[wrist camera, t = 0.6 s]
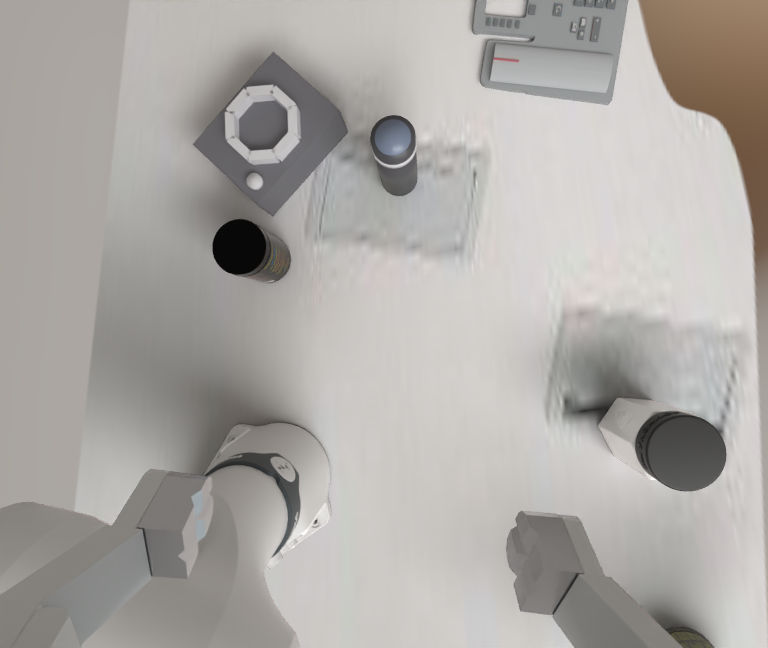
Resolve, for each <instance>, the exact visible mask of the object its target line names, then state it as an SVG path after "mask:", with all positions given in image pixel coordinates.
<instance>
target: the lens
mask: <svg viewBox="0 0 768 648" xmlns="http://www.w3.org/2000/svg"><path fill="white" fill-rule="evenodd" d="M370 140H371V148H372V152H373V155H374V157H375V160H376V163H377V167H378V170H379V173H380V177H381V180H382V184H383V186H384V188H385V190H386V191H387V192H389V193H390V194H392V195H395V196H403V195H406V194H408V193H410V192H411V191H412V190H413V189H414V187H415V186H416V183H417V158H416V149H417V140H416V135H415V130H414V128H413V126H412V124H411V123H410V122H409V121H408V120H407V119H405V118H403V117H401V116H396V115H391V116H387V117H384V118H382V119H381V120H379V121H378V122H377V123H376V124H375V126H374V127H373V129H372V132H371V137H370Z"/></svg>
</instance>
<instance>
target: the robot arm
mask: <svg viewBox="0 0 768 648" xmlns="http://www.w3.org/2000/svg"><path fill="white" fill-rule="evenodd" d="M233 438H235V439H234V440H233ZM329 485H330V466H329V462H328V458H327V456H326V453H325V451H324V449H323V448H322V446H321V445H320V443H319V442H318V441H317V440H316V439H315V438H314V437H313V436H312V435H311V434H310V433H308V432H307V431H305V430H304V429H302V428H300V427H298V426H295V425H292V424H287V423H272V424H267V425H263V426H252V425H246V424H238V425H236V426H234V427H233V428H232V429H231V431H230V432H229V434H228V435H227V437H226V439H225V440H224V442H223V444H222V445H221V447H220V449H219V450H218V452H217V454H216V455H215V457H214V459H213V460H212V462H211V463H210V465H209V467H208V468H207V470H206V472H205V473H204V475H203V476H201V475H194V474H187V473H179V472H172V471H164V470H156V469H150V470H148V471H147V472H146V473H145V474H144V476H143V477H142V479H141V480H140V482H139V484H138V485H137V487H136V488H135V490H134V492H133V493H132V495H131V496H130V498H129V500H128V501H127V503H126V504H125V506H124V508H123V509H122V511H121V512H120V514H119V516H118V517H117V519H116V520H115V522H114V524H113V525H110V524H108V523H106V522H103V521H101V520H99V519H97V518H95V517H93V516H90V515H86V514H82V513H78V512H74V511H71V510H66V509H63V508H58V507H53V506H48V505H43V504H38V503H34V502H22V503H16V504H13V505H10V506H7V507H4V508H1V509H0V648H300V645H299V641H298V638H297V634H296V632H295V631H294V630H293V628H292V627H291V626H290V625H289V624H288V622H287V621H286V620H285V618H284V617H283V616H282V614H281V613H280V611H279V610H278V608H277V606H276V605H275V603H274V601H273V599H272V597H271V595H270V592H269V589H268V587H267V583H266V580H265V574H264V571H265V569H266V567H267V568H269V569H271V568H272V567H274V566H275V565H276V564H277V563H278V562H279V561H280V560H281V559H282V557H283V556H282V554H284V553H285V552H287V551H288V550H291V549H292V548H294V547H295V546H296V545H297V544H298V543H299V542H301V541H302V540H304V539H305V538H307V537H308V536H309V535H311V534H312V533H314V532H315V531H317V530H318V529H320V528H321V527H322V526H324V525H325V524H326V523H327V522H328V521H329V520H330V518H331V508H330V503H329V499H328V491H329ZM316 519H317V520H318V522H314V521H315V520H316ZM516 523H517V526H516V527H515V528H513V529H511V530H510V533H509V535H508V538H507V547H506V551H507V559H508V563H509V567H510V569H511V570H512V571H513V572H514V573H515V574H516V575H517V578H516V580H515V583H514V588H515V592H516V596H517V600H518V604H519V608H520V611H523V612H531V613H539V614H547V615H553V619H554V620H555V621H556V623H557V624H558V626H559V627H560V628H561V630H562V631H563V632H564V634H565V635H566V637H567V638H568V639H569V641H570V642H571V643H572V645H573V646H574V648H683V647H682V646H681V645H680V644H679V643H678V642H677V641H676V640H675V639H674V638H673V637H672V636H671V635H670V634H669V633H668V632H666V631H665V630H664V629H663V628H662V627H661V626H660V625H659V624H658V623H657V622H656V621H655V620H654V619H653V618H652V617H651V616H650V615H649V614H648V613H647V612H646V611H645V610H644V609H643V608H642V607H641V606H640V605H639V604H638V603H637V602H636V601H635V600H634V599H633V598H632V597H631V596H630V595H629V594H627V593H626V592H625V591H624V590H623V589H622V588H621V587H620V586H619V585H618V584H617V583H616V582H615V581H614V580H613V579H612V578H611V577H605V575H604V572H603V570H602V568H601V566H600V563H599V561H598V559H597V557H596V554H595V552H594V550H593V548H592V545H591V543H590V541H589V539H588V536H587V534H586V532H585V529H584V527H583V525H582V523H581V521H580V519H579V518H578V517H575V516H566V515H557V514H551V513H541V512H530V511H521V512H519V513H518V515H517V517H516Z"/></svg>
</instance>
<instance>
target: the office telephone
mask: <svg viewBox="0 0 768 648" xmlns="http://www.w3.org/2000/svg"><path fill="white" fill-rule="evenodd" d="M627 5H628V0H528V4H527V10H526V16H525V18H517V17H504V16H495V15H485V8H486V0H477V1H476V7H475V13H474V22H473V34H475V35H478V34H486V35H498V36H509V37H519V38H529V39H534V40H533V41H532V42H529V43H525V42H512V41H499V40H489V41H488V42H487V45H486V50H485V55H484V60H483V67H482V73H481V79H480V83H481V85H482V86H484V87H486V88H492V89H497V90H503V91H510V92H519V93H525V94H529V95H535V96H543V97H551V98H558V99H566V100H574V101H582V102H590V103H597V104H603V105H609V103H610V102H611V101H612V96H613V90H614V84H615V79H616V73H617V66H618V60H619V54H620V48H621V42H622V36H623V30H624V24H625V17H626V11H627Z"/></svg>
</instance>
